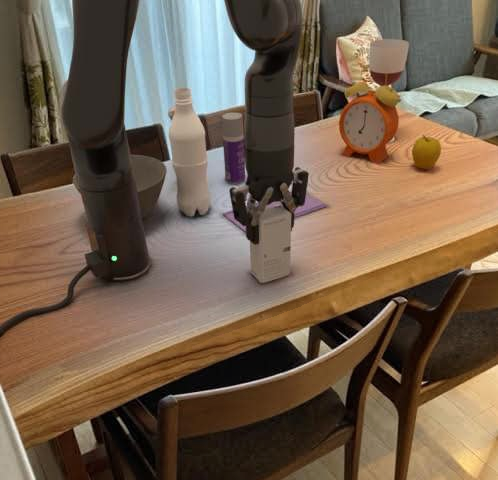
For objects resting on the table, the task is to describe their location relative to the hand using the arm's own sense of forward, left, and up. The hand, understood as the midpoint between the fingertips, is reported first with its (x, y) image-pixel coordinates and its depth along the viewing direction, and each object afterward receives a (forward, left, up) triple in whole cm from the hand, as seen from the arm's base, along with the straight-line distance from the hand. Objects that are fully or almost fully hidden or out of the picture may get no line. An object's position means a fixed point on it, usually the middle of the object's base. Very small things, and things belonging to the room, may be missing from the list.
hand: (270, 236), depth 92 cm
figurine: (+5, +41, -8) cm, 42 cm away
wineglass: (+60, +37, -8) cm, 71 cm away
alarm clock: (+49, +30, -8) cm, 58 cm away
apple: (+55, +16, -8) cm, 58 cm away
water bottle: (0, +29, -8) cm, 30 cm away
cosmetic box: (0, 0, -8) cm, 8 cm away
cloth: (+14, +19, -8) cm, 25 cm away
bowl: (-13, +35, -8) cm, 38 cm away
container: (+15, +37, -8) cm, 41 cm away
